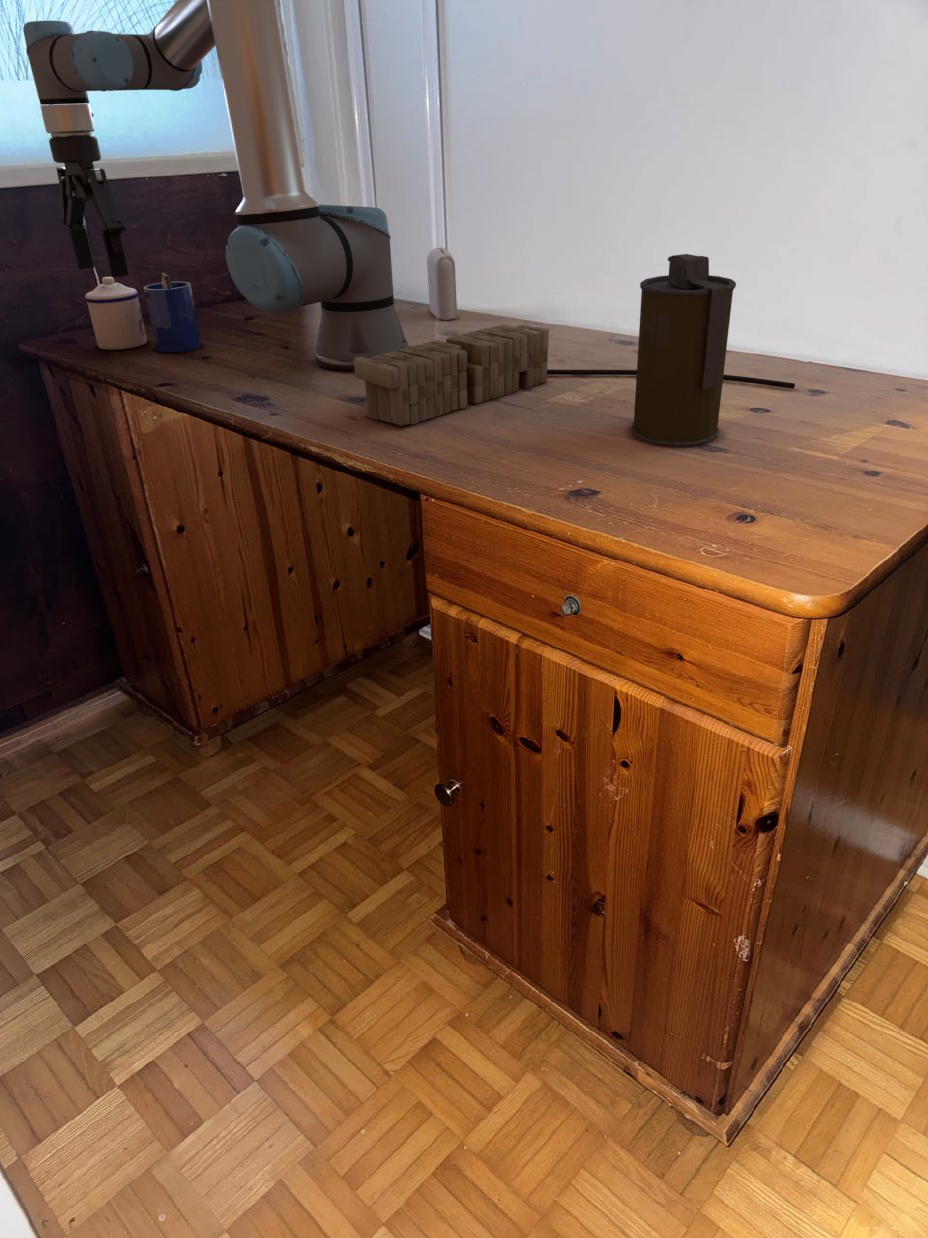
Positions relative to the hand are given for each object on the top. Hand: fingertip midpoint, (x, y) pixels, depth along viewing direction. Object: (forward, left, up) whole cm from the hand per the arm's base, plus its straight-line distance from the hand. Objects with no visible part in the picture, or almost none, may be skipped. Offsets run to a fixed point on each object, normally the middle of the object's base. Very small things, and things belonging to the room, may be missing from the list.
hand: (103, 272), depth 154 cm
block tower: (-75, -15, -13) cm, 78 cm away
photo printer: (-31, -53, -13) cm, 62 cm away
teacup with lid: (0, 0, -13) cm, 13 cm away
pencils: (-12, -6, -12) cm, 18 cm away
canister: (-106, -22, -13) cm, 109 cm away
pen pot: (-12, -6, -12) cm, 18 cm away
